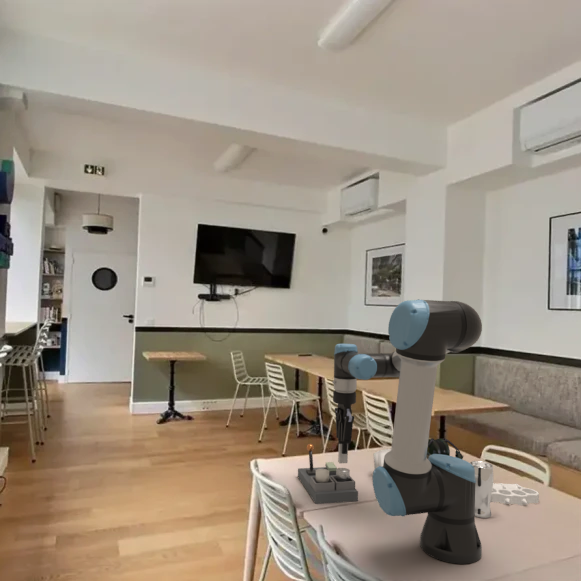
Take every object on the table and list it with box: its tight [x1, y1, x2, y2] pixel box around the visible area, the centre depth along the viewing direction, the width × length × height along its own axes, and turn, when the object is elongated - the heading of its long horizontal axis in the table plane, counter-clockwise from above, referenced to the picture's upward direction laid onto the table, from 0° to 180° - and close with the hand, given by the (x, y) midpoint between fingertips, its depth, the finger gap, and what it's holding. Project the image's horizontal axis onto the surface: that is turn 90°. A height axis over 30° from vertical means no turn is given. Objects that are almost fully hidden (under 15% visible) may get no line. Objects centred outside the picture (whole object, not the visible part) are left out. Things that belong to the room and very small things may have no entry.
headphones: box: [426, 437, 464, 460], centre depth 193 cm, size 13×13×20 cm
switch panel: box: [297, 466, 359, 505], centre depth 165 cm, size 24×14×6 cm, turn 13°
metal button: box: [336, 467, 351, 482], centre depth 159 cm, size 4×4×3 cm
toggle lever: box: [306, 443, 315, 471], centre depth 172 cm, size 3×3×9 cm
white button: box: [316, 469, 329, 483], centre depth 158 cm, size 4×4×3 cm
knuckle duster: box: [490, 482, 540, 506], centre depth 161 cm, size 3×18×15 cm
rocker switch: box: [324, 461, 338, 471], centre depth 172 cm, size 4×3×1 cm, turn 13°
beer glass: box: [469, 460, 494, 519], centre depth 148 cm, size 7×7×15 cm
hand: (342, 462), depth 160 cm, fingers closed
